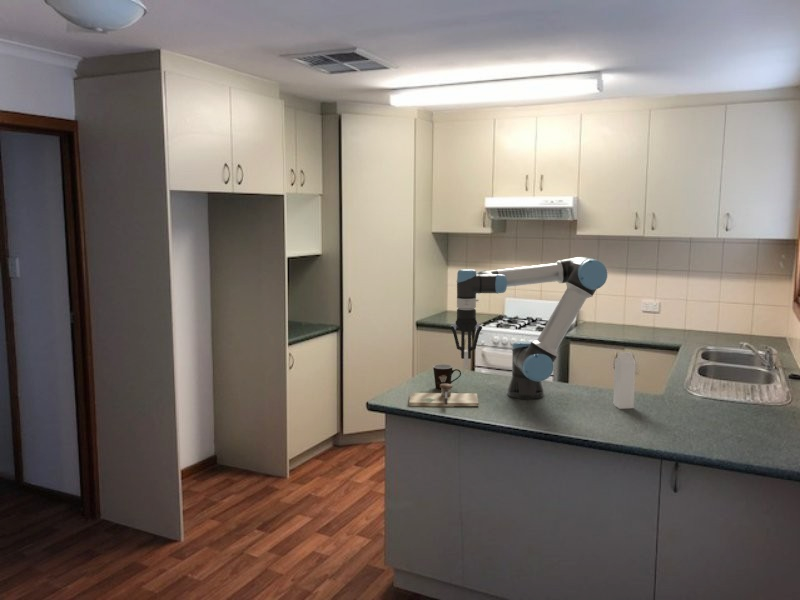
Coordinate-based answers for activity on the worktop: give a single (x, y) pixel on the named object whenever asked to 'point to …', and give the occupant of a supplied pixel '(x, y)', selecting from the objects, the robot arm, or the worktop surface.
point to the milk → (624, 381)
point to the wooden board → (443, 399)
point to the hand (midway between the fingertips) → (466, 366)
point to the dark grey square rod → (446, 391)
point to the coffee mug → (443, 374)
